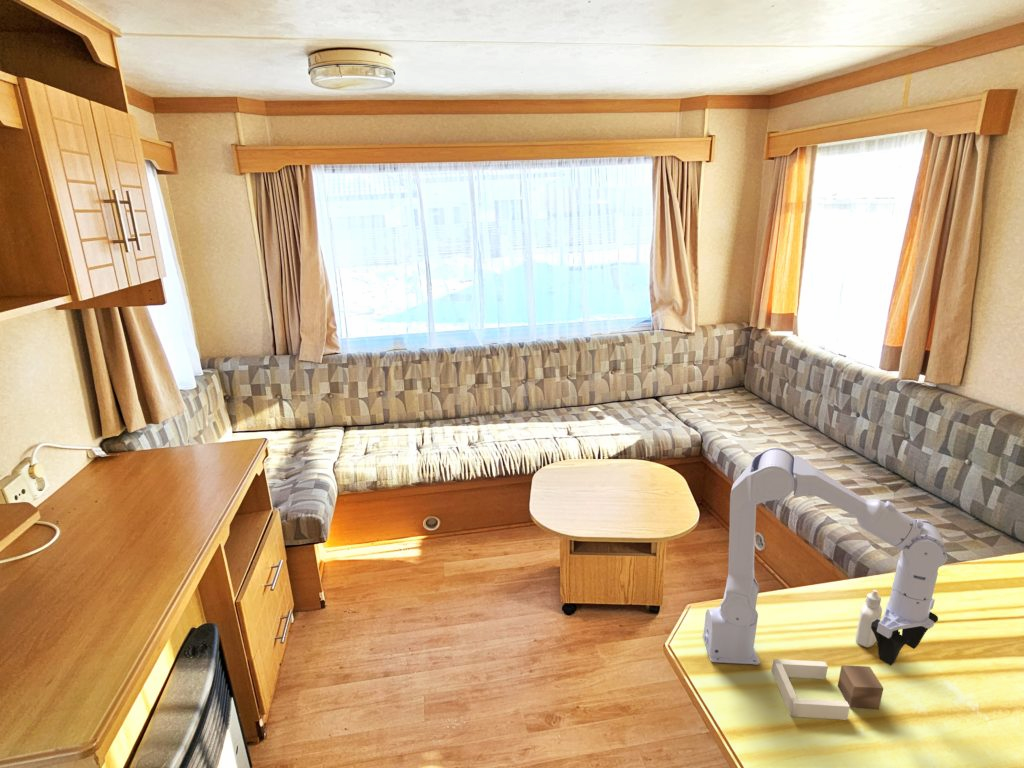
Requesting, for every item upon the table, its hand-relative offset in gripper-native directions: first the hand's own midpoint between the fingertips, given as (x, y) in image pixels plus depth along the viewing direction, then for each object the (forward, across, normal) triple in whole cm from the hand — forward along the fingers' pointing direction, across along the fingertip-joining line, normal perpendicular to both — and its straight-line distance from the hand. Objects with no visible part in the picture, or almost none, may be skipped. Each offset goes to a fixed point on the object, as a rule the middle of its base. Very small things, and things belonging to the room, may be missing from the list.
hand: (897, 653), depth 106 cm
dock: (+10, -12, +8) cm, 18 cm away
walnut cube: (+10, -5, +3) cm, 11 cm away
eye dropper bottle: (+10, +11, +10) cm, 18 cm away
